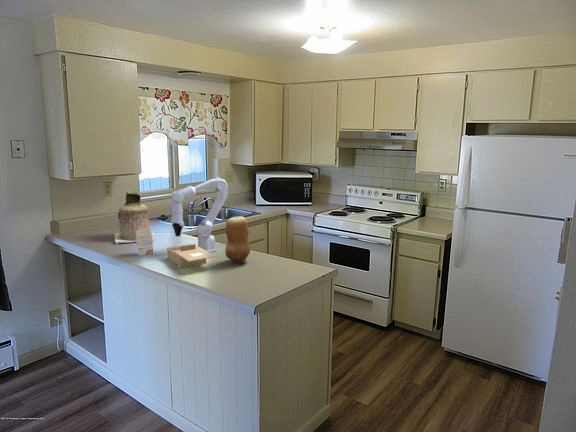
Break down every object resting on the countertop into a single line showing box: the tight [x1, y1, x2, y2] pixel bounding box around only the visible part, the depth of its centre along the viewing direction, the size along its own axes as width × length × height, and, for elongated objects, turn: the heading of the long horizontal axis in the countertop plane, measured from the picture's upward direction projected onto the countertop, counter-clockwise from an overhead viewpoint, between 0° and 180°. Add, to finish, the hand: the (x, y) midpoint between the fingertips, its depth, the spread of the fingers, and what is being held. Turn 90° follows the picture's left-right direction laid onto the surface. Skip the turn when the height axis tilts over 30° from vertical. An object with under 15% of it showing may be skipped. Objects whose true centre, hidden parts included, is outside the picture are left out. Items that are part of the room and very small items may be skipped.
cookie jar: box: [114, 190, 156, 245], centre depth 275 cm, size 25×25×32 cm
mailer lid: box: [173, 243, 217, 262], centre depth 221 cm, size 15×21×3 cm
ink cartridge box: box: [136, 228, 154, 256], centre depth 243 cm, size 9×5×15 cm, turn 105°
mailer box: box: [166, 243, 207, 268], centre depth 231 cm, size 14×20×6 cm
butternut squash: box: [225, 215, 251, 264], centre depth 227 cm, size 14×13×25 cm
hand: (178, 236), depth 242 cm, fingers closed
